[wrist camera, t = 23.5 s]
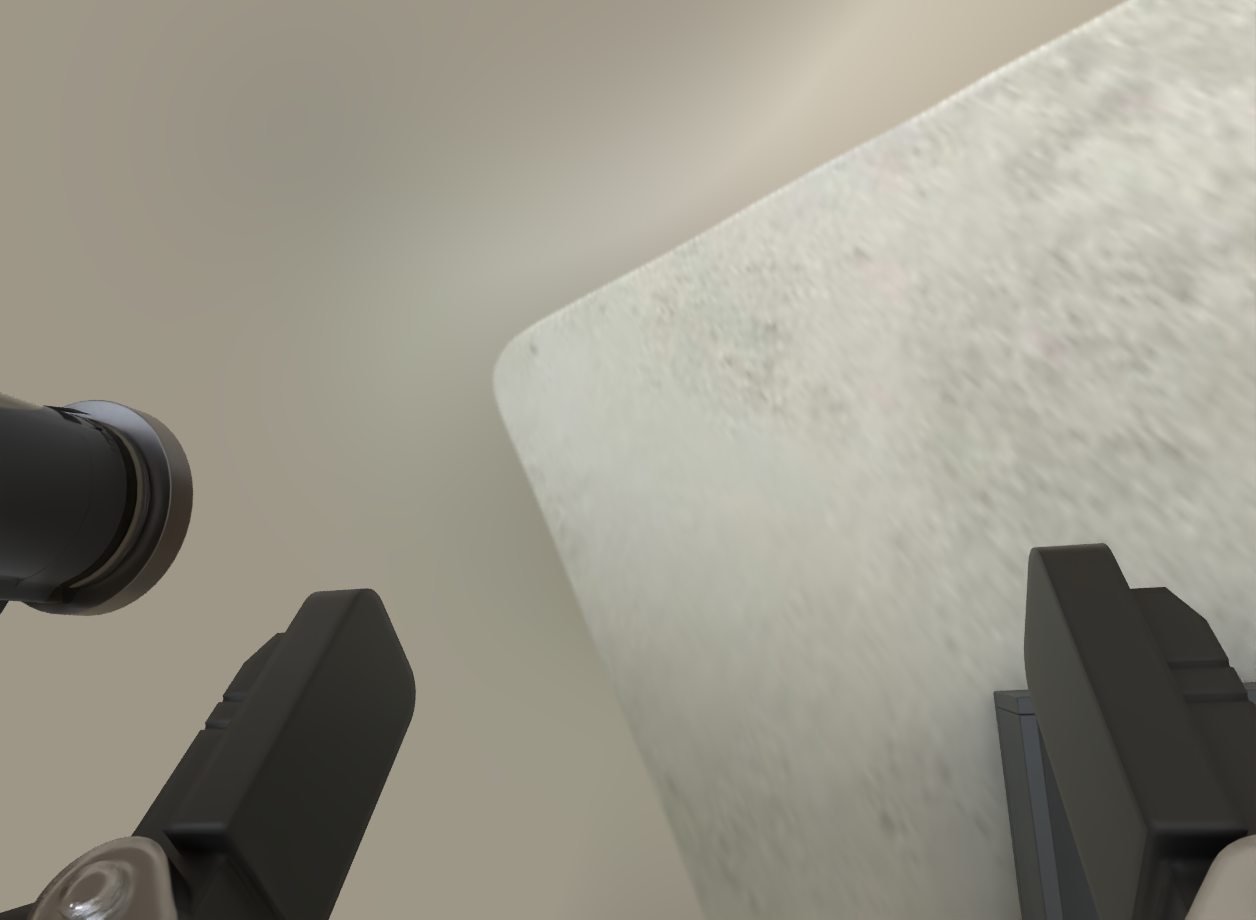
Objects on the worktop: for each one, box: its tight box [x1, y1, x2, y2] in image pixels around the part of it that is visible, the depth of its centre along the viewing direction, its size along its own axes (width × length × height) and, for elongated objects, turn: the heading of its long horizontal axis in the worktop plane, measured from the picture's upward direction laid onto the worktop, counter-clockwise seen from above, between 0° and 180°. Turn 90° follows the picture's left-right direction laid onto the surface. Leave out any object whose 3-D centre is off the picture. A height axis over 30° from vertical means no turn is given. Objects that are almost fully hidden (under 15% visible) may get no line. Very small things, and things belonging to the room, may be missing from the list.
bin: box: [994, 682, 1256, 920], centre depth 31 cm, size 13×13×5 cm
